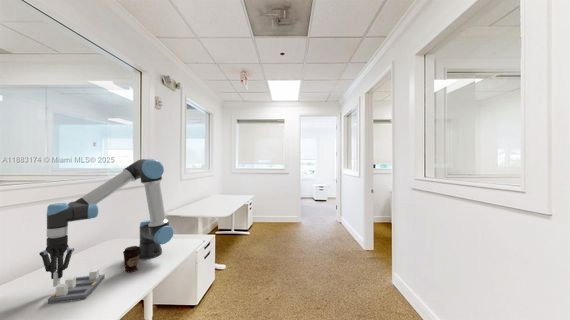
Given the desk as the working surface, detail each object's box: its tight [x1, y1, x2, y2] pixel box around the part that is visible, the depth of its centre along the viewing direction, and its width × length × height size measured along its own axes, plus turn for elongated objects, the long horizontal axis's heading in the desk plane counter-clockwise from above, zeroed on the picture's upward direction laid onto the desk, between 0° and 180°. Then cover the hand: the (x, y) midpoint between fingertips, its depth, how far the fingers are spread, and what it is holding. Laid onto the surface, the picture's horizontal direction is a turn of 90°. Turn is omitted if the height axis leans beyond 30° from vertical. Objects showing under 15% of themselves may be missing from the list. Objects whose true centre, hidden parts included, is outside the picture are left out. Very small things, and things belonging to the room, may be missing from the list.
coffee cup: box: [122, 245, 140, 274], centre depth 142 cm, size 9×8×13 cm
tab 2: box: [64, 276, 77, 288], centre depth 120 cm, size 3×3×4 cm
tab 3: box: [88, 268, 100, 280], centre depth 129 cm, size 3×3×4 cm
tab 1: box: [55, 283, 68, 296], centre depth 113 cm, size 3×3×4 cm
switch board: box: [47, 273, 106, 304], centre depth 121 cm, size 14×21×2 cm, turn 16°
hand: (56, 285), depth 118 cm, fingers closed
